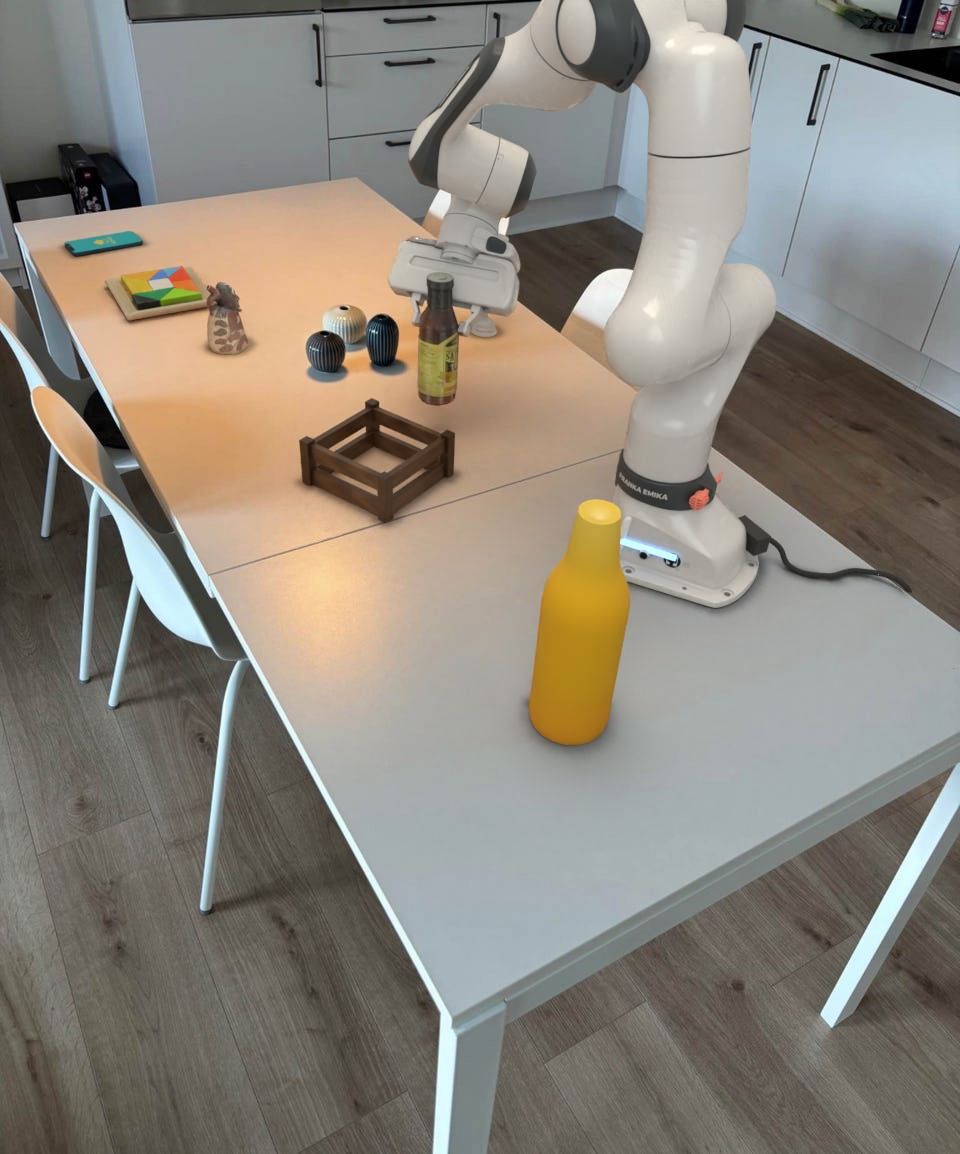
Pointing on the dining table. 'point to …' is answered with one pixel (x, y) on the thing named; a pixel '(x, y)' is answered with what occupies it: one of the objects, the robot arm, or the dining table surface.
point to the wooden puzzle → (159, 292)
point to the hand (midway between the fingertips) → (439, 330)
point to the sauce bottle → (438, 343)
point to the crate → (386, 503)
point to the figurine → (225, 321)
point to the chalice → (486, 317)
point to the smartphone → (103, 243)
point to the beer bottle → (581, 630)
